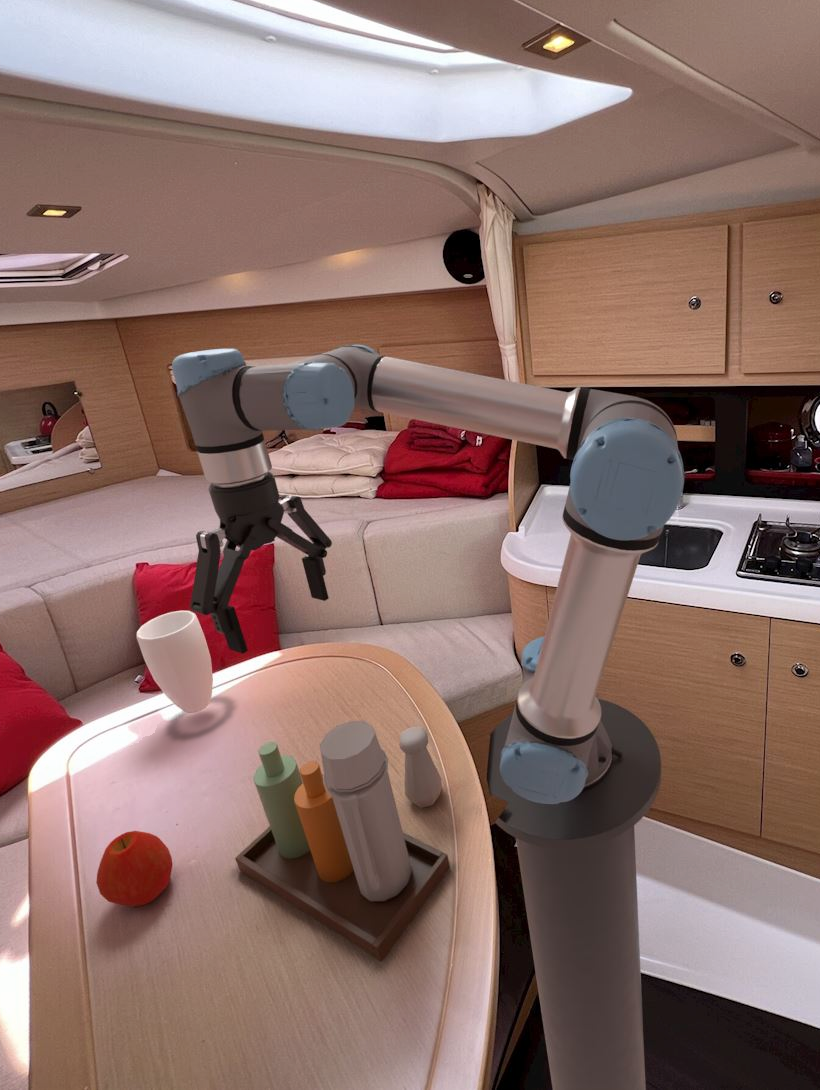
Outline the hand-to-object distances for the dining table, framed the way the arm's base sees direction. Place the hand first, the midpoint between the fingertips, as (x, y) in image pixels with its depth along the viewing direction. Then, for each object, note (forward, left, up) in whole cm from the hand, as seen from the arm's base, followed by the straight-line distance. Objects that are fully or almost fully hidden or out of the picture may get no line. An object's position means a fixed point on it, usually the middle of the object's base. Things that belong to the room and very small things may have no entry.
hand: (282, 622), depth 83 cm
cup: (+28, -31, -34) cm, 54 cm away
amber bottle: (-1, +12, -34) cm, 36 cm away
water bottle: (-8, +17, -34) cm, 39 cm away
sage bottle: (+5, +6, -34) cm, 34 cm away
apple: (+25, +7, -34) cm, 43 cm away
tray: (-2, +12, -34) cm, 36 cm away
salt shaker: (-14, +3, -34) cm, 37 cm away
